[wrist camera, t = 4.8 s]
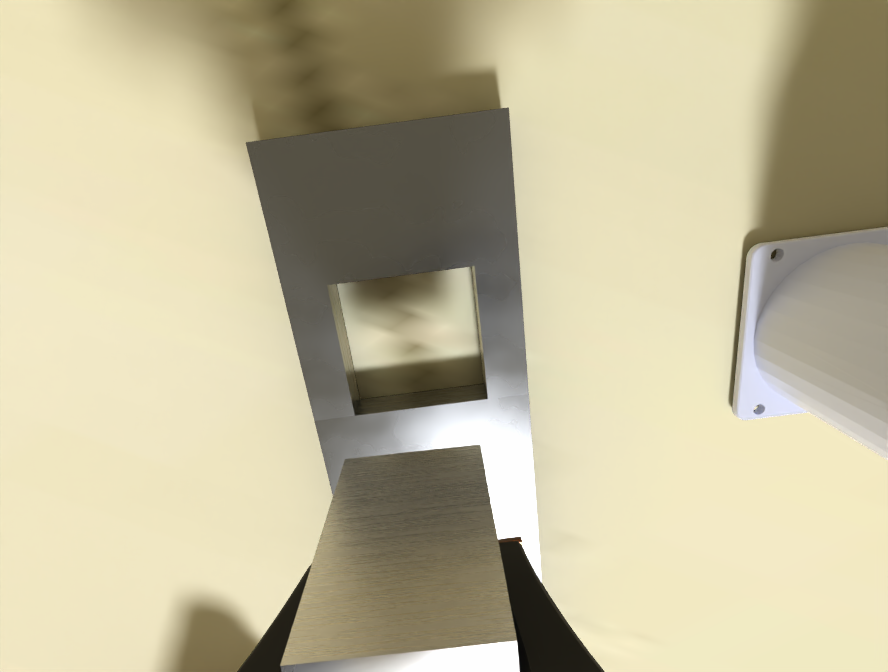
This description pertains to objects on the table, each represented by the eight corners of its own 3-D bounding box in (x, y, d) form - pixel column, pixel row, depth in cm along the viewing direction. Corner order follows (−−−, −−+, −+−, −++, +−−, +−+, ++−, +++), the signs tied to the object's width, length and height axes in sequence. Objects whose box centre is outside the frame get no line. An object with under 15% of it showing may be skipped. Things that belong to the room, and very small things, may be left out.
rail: (501, 113, 17) (509, 106, 15) (543, 676, 26) (551, 708, 25) (261, 145, 17) (243, 142, 15) (391, 694, 26) (389, 727, 25)
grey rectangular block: (480, 444, 13) (519, 653, 7) (490, 551, 14) (530, 802, 9) (344, 459, 13) (275, 678, 7) (367, 564, 15) (323, 823, 9)
